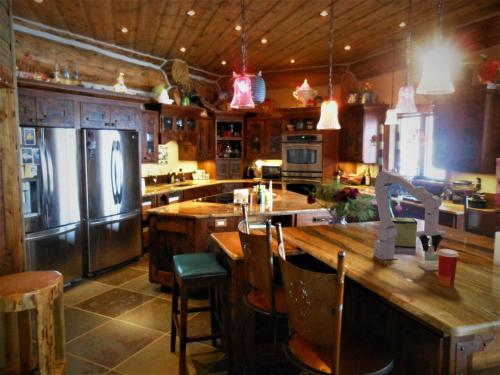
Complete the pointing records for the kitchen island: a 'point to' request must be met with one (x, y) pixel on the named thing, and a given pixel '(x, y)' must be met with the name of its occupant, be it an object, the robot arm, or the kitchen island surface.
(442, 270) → the paper cup
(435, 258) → the teal block
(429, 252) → the silver metal cylinder
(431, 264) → the parts tray
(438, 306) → the kitchen island surface
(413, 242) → the protein box
